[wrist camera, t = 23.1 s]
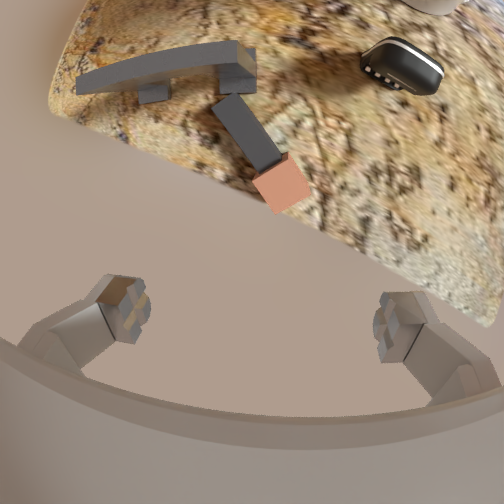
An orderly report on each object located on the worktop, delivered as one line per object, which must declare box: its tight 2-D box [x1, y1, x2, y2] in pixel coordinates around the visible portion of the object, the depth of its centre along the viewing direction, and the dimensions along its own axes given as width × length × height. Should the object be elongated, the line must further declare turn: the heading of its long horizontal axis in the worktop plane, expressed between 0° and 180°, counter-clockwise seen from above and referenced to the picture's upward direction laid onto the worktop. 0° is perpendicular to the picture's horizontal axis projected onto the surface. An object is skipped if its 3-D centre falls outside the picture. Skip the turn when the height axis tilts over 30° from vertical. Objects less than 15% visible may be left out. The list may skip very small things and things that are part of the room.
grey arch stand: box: [76, 40, 257, 104], centre depth 24 cm, size 6×16×14 cm, turn 91°
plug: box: [211, 93, 311, 215], centre depth 32 cm, size 15×5×5 cm, turn 35°
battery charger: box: [360, 36, 444, 96], centre depth 21 cm, size 7×4×11 cm, turn 71°
